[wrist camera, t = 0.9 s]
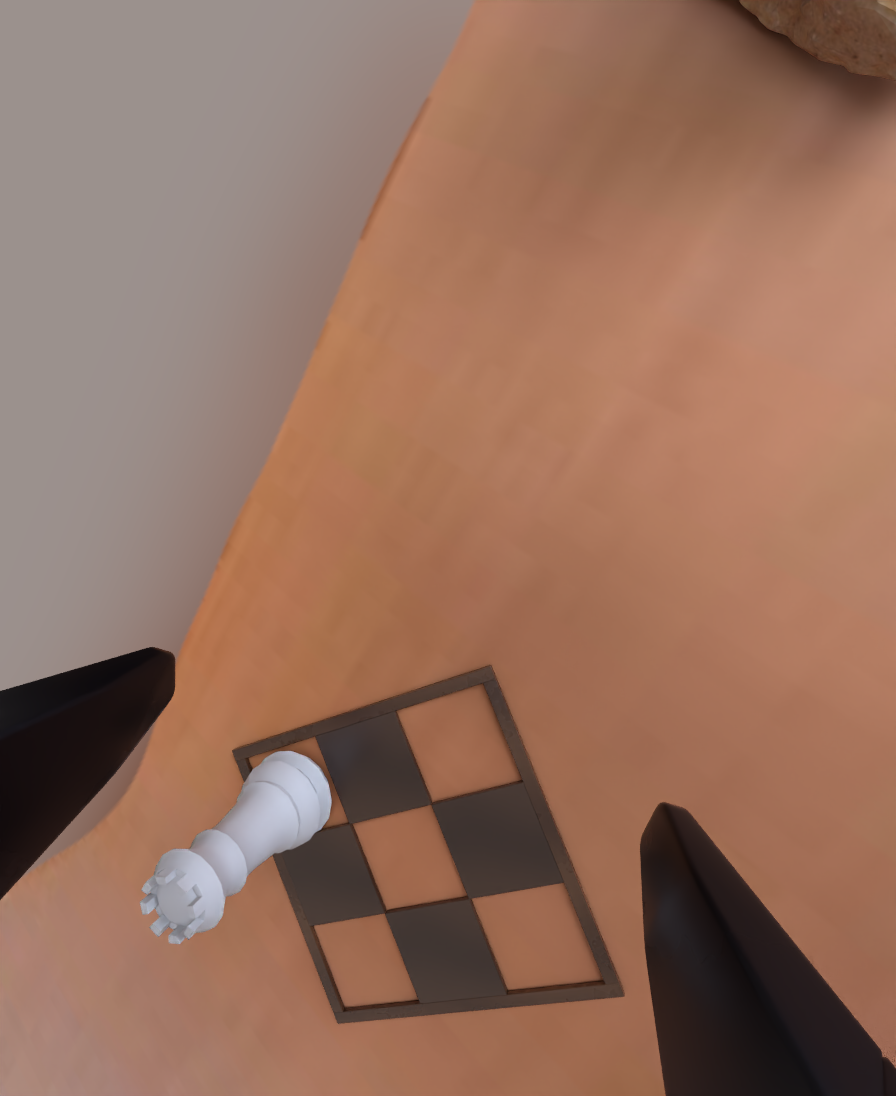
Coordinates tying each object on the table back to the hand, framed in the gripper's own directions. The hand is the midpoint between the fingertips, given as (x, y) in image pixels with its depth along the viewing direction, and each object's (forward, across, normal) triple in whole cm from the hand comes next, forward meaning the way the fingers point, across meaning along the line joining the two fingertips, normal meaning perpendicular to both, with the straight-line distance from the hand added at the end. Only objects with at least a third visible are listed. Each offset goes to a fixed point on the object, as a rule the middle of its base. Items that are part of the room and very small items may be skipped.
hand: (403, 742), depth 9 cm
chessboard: (+10, -1, +16) cm, 19 cm away
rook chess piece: (+11, +6, +16) cm, 20 cm away
